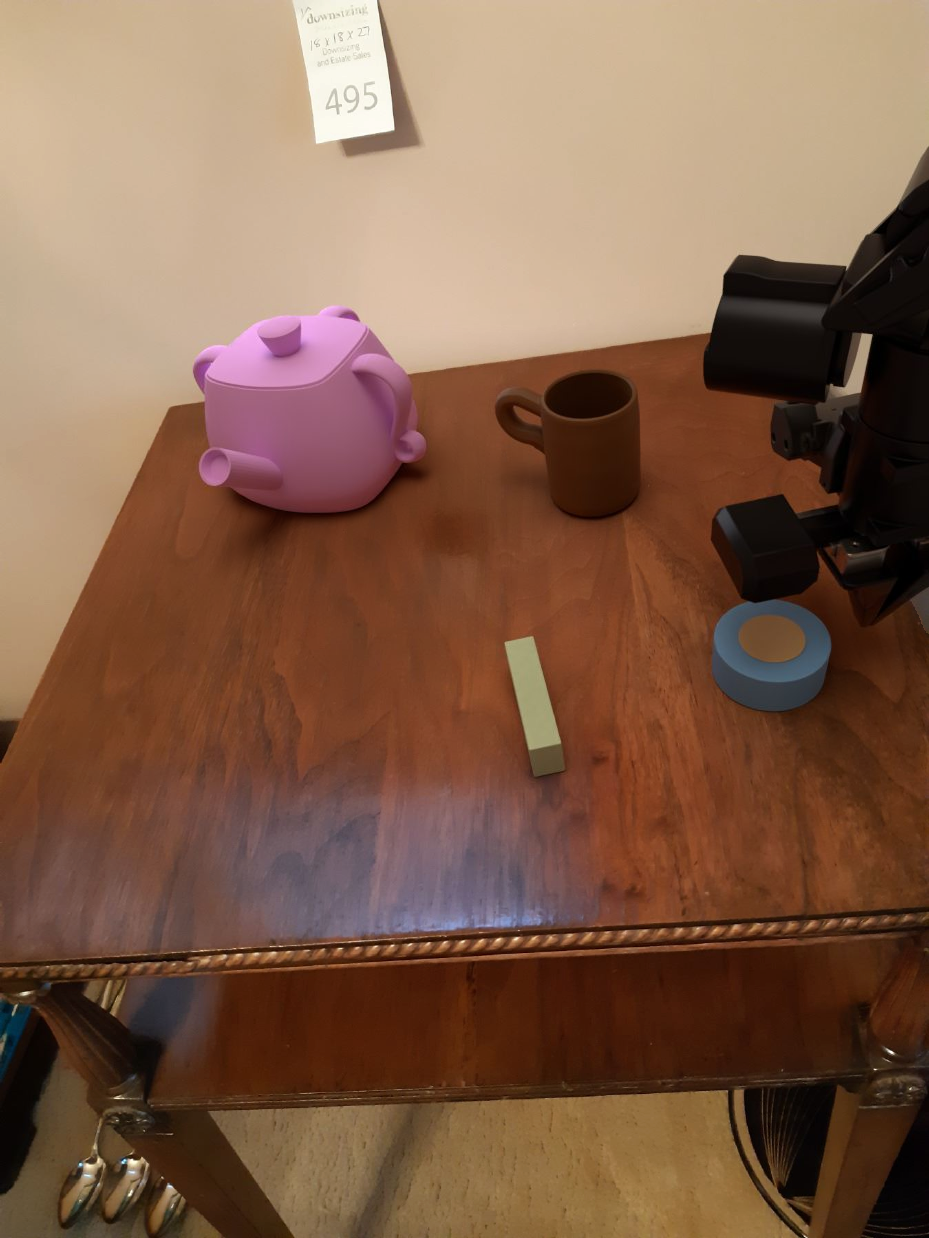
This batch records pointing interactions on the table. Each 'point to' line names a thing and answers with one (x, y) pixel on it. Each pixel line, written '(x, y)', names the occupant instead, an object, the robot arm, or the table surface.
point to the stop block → (534, 707)
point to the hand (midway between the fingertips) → (864, 621)
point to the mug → (582, 437)
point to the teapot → (306, 413)
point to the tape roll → (770, 655)
